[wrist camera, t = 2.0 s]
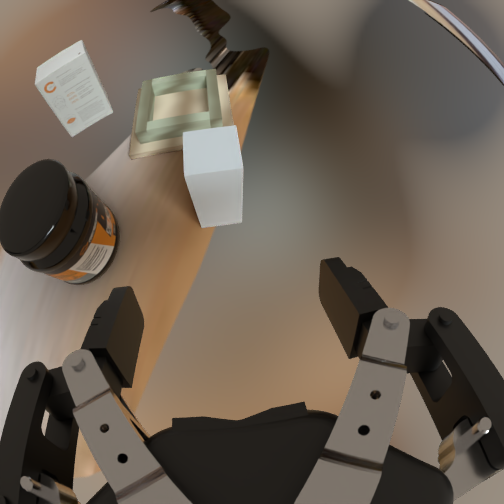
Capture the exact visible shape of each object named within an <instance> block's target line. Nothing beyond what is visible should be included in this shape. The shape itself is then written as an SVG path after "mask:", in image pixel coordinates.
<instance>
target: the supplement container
mask: <svg viewBox="0 0 504 504" xmlns="http://www.w3.org/2000/svg"><path fill="white" fill-rule="evenodd" d="M0 243H1V245H2V247H3V248H4V250H5V251H6V252H7V253H8V254H10V255H12V256H14V257H16V258H18V259H20V261H21V262H22V263H23V264H24V265H25V266H26V267H27V268H29V269H31V270H33V271H35V272H40V273H44V274H47V275H49V276H52V277H55V278H57V279H60V280H63V281H64V282H67V283H69V284H73V285H84V284H88V283H91V282H93V281H95V280H96V279H98V278H99V277H101V276H102V275H103V274H104V273H105V272H106V271H107V269H108V268H109V267H110V265H111V264H112V262H113V260H114V258H115V256H116V253H117V250H118V246H119V227H118V223H117V220H116V218H115V215H114V214H113V212H112V211H111V210H110V209H109V208H108V207H107V206H106V205H105V204H104V203H103V202H102V201H101V200H100V199H99V198H98V197H97V196H96V195H95V194H94V193H93V192H92V191H91V189H90V188H89V187H88V185H87V184H86V182H85V181H84V180H83V179H82V178H81V177H80V176H78V175H77V174H75V173H72V172H69V171H67V169H66V168H65V167H64V166H63V165H62V164H61V163H60V162H58V161H56V160H53V159H45V160H41V161H38V162H36V163H34V164H32V165H30V166H29V167H27V168H26V169H25V170H24V171H23V172H22V173H21V174H20V175H19V176H18V177H17V178H16V179H15V180H14V182H13V183H12V185H11V186H10V188H9V190H8V191H7V193H6V195H5V197H4V199H3V202H2V205H1V208H0Z"/></svg>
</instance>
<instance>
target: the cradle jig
mask: <svg viewBox="0 0 504 504" xmlns="http://www.w3.org/2000/svg"><path fill="white" fill-rule="evenodd" d="M225 126H234V123H233V117H232V111H231V105H230V99H229V93H228V86H227V80H226V75H217V74H216V69H211V70H203V71H195V72H189V73H182V74H176V75H171V76H166V77H161V78H156V79H151V80H147V81H143V85H142V88H141V89H139V90H138V96H137V101H136V107H135V114H134V121H133V128H132V135H131V144H130V153H129V156H130V158H131V159H136V158H141V157H146V156H151V155H156V154H161V153H167V152H172V151H178V150H183V132H188V131H195V130H202V129H209V128H217V127H225Z"/></svg>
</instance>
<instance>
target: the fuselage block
mask: <svg viewBox="0 0 504 504" xmlns="http://www.w3.org/2000/svg"><path fill="white" fill-rule="evenodd" d="M183 160H184V177H185V180H186V183H187V186H188V189H189V192H190V195H191V198H192V201H193V204H194V207H195V210H196V213H197V216H198V219H199V222H200V224H201V227H202V228H205V227H212V226H219V225H227V224H235V223H241V222H242V199H243V198H242V196H243V163H242V157H241V151H240V145H239V139H238V133H237V127H236V125H235V126H225V127H217V128H209V129H202V130H195V131H188V132H183Z"/></svg>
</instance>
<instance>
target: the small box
mask: <svg viewBox="0 0 504 504" xmlns="http://www.w3.org/2000/svg"><path fill="white" fill-rule="evenodd" d="M35 86H36V87H37V88H38V90H39V92H40V93H41V94H42V96H43V98H44V99H45V101H46V102H47V103H48V105H49V106H50V108H51V109H52V111H53V112H54V114H55V115H56V117H57V118H58V119H59V121H60V122H61V124H62V125H63V126H64V128H65V129H66V130H67V132H68V133H69V135H70V136H71V137H73V136H75V135H76V134H78V133H79V132H81V131H82V130H84V129H86V128H87V127H89V126H90V125H92V124H94V123H95V122H97V121H99V120H100V119H102V118H104V117H105V116H107V115H109V114H111V113H113V110H112V107H111V104H110V102H109V99H108V96H107V93H106V91H105V89H104V87H103V85H102V83H101V80H100V78H99V76H98V74H97V72H96V70H95V67H94V65H93V63H92V61H91V58H90V56H89V55H88V52H87V50H86V47H85V45H84V43H83V41H82V40H81V41H79V42H77V43H75V44H73V45H72V46H70V47H68V48H67V49H65V50H63V51H61V52H60V53H58V54H57V55H55V56H54V57H52V58H50V59H49V60H47V61H46V62H44V63H43V64H41V65H40V66H39V67H37V72H36V79H35Z"/></svg>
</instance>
